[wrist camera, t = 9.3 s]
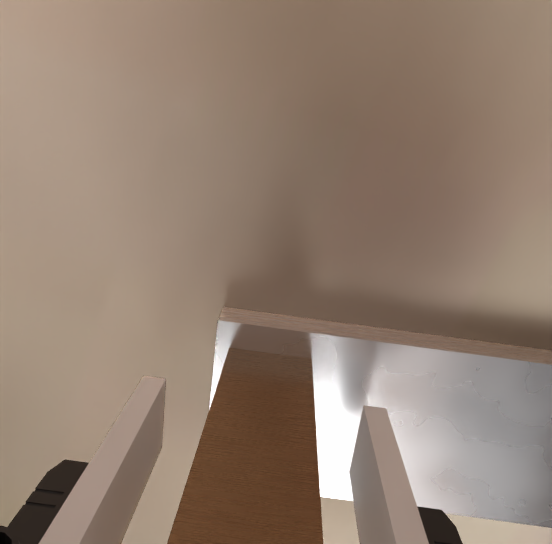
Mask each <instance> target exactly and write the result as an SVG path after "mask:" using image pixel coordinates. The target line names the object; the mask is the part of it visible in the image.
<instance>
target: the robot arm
mask: <svg viewBox="0 0 552 544" xmlns="http://www.w3.org/2000/svg"><path fill="white" fill-rule="evenodd" d="M165 387H166V379H165V378H158V377H151V376H143V377H142V379H141V380H140V382H139V383H138V385H137V387H136V388H135V390H134V391H133V393H132V395H131V396H130V398H129V399H128V401H127V403H126V404H125V406H124V407H123V409H122V411H121V412H120V414H119V415H118V417H117V419H116V420H115V422H114V423H113V425H112V427H111V428H110V430H109V431H108V433H107V435H106V436H105V438H104V440H103V441H102V443H101V444H100V446H99V448H98V449H97V451H96V452H95V454H94V456H93V457H92V459H91V460H90V462H89V463H86V462H78V461H71V460H64V461H62V462H61V463H59V464H58V465H57V466H55V467H54V468H53V469H51V470H50V471H48V472H47V473H46V475H45V476H44V478H43V479H42V480H41V482H40V483H39V484H38V486H37V487H36V490H35V492H34V491H33V493H32V494H31V495H30V497H29V498H28V500H27V501H26V504H25V505H23V506H22V508H21V509H20V511H19V512H18V513H17V515H16V516H15V517H14V519H13V520H12V522H11V523H10V524H9V526H8V527H5V526H0V544H121V542H122V540H123V537H124V535H125V533H126V530H127V528H128V526H129V523H130V521H131V519H132V516H133V514H134V512H135V509H136V507H137V504H138V502H139V500H140V497H141V495H142V493H143V490H144V488H145V486H146V483H147V481H148V479H149V476H150V474H151V472H152V469H153V467H154V464H155V462H156V460H157V457H158V455H159V453H160V450H161V448H162V438H163V421H164V404H165ZM349 475H350V481H351V488H352V495H353V502H354V508H355V515H356V522H357V528H358V535H359V542H360V544H462V541H461V539H460V536H459V534H458V531H457V529H456V526H455V525H454V524H453V523H452V522H451V520H450V519H449V518H448V517H447V515H446V514H445V513H444V512H443V511H442V510H440V509H433V508H426V507H418V506H417V504H416V501H415V498H414V495H413V492H412V489H411V485H410V482H409V479H408V476H407V473H406V470H405V466H404V463H403V460H402V457H401V454H400V450H399V447H398V444H397V441H396V438H395V435H394V431H393V428H392V425H391V422H390V419H389V416H388V412H387V409H386V408H380V407H373V406H365V405H363V410H362V414H361V419H360V424H359V428H358V433H357V438H356V442H355V447H354V452H353V456H352V461H351V466H350V470H349Z"/></svg>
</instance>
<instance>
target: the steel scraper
mask: <svg viewBox="0 0 552 544" xmlns="http://www.w3.org/2000/svg"><path fill="white" fill-rule="evenodd" d="M363 405H365V406H373V407H380V408H386V409H387V412H388V416H389V419H390V422H391V425H392V428H393V431H394V435H395V438H396V441H397V444H398V447H399V450H400V454H401V457H402V460H403V463H404V466H405V470H406V473H407V476H408V479H409V482H410V485H411V489H412V492H413V495H414V498H415V501H416V504H417V506H418V507H426V508H433V509H440V510H442V511H443V512H444V513H446V514H453V515H460V516H468V517H475V518H483V519H490V520H497V521H505V522H512V523H520V524H527V525H534V526H542V527H549V528H552V350H546V349H539V348H531V347H523V346H516V345H508V344H501V343H493V342H486V341H478V340H470V339H463V338H455V337H448V336H440V335H433V334H425V333H418V332H410V331H402V330H395V329H387V328H380V327H372V326H365V325H357V324H349V323H342V322H334V321H327V320H319V319H312V318H304V317H297V316H289V315H281V314H274V313H266V312H259V311H251V310H244V309H236V308H229V307H223V309H222V311H221V314H220V316H219V318H218V322H217V333H216V344H215V355H214V366H213V377H212V387H211V398H210V409H209V413H208V416H207V419H206V422H205V426H204V429H203V432H202V435H201V438H200V441H199V445H198V448H197V451H196V454H195V457H194V460H193V464H192V467H191V470H190V473H189V476H188V479H187V483H186V486H185V489H184V492H183V495H182V498H181V502H180V505H179V508H178V511H177V514H176V517H175V521H174V524H173V527H172V530H171V533H170V536H169V539H168V543H167V544H323V533H322V517H321V500H320V497H328V498H335V499H342V500H350V501H353V495H352V488H351V481H350V475H349V470H350V466H351V461H352V456H353V452H354V447H355V442H356V438H357V433H358V428H359V424H360V419H361V414H362V410H363Z"/></svg>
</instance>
